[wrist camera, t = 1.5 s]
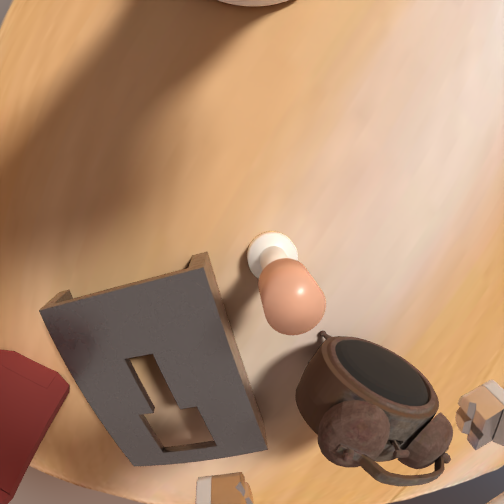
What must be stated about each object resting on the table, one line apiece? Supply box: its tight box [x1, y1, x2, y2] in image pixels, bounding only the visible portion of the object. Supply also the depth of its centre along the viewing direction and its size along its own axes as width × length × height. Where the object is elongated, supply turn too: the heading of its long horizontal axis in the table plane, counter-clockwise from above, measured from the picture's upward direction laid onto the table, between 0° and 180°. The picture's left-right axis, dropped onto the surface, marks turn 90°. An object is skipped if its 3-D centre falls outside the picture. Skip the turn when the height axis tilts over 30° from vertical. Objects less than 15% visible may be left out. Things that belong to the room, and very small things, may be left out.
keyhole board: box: [39, 252, 268, 466], centre depth 33 cm, size 18×24×5 cm
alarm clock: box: [296, 331, 453, 486], centre depth 27 cm, size 15×7×20 cm, turn 68°
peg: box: [247, 231, 326, 335], centre depth 27 cm, size 5×5×12 cm
